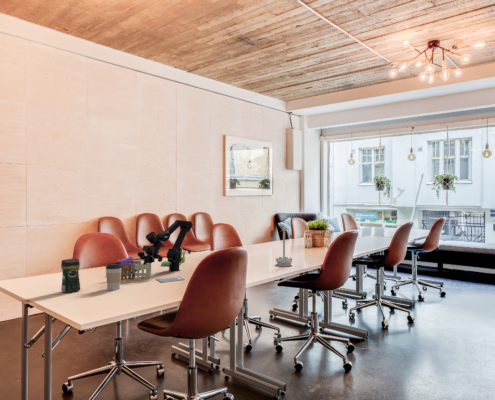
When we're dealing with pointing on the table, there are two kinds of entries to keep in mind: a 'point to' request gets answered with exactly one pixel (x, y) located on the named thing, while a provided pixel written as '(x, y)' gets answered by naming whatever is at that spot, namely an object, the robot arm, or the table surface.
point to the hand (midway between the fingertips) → (143, 266)
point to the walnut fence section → (125, 268)
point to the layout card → (170, 279)
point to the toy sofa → (129, 260)
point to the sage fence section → (142, 266)
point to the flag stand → (284, 260)
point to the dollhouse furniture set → (166, 263)
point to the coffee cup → (113, 276)
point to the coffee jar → (70, 275)
